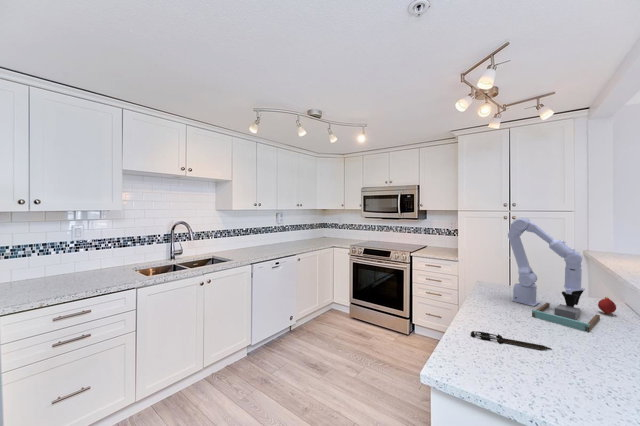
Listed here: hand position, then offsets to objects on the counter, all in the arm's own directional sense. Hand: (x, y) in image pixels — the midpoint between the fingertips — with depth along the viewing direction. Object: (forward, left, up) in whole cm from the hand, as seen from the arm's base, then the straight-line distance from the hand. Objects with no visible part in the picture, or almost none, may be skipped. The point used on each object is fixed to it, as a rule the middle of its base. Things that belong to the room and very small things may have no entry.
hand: (572, 306), depth 129 cm
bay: (0, -10, -3) cm, 10 cm away
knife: (-6, -55, -4) cm, 55 cm away
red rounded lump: (+10, +10, -3) cm, 14 cm away
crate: (0, -8, -3) cm, 9 cm away
